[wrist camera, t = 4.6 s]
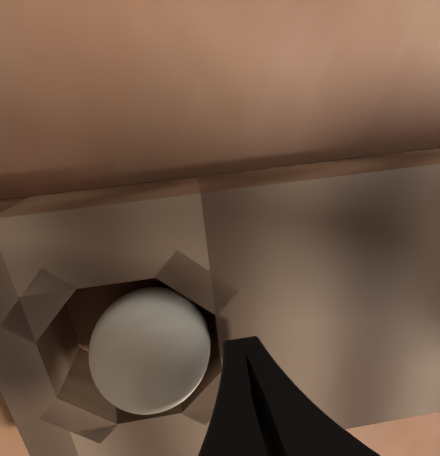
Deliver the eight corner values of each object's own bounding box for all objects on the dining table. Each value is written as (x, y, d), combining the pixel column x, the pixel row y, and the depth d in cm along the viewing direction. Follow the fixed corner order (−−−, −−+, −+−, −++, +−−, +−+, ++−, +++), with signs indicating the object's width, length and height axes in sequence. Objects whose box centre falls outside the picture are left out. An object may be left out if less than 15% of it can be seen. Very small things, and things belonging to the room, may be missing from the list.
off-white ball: (48, 407, 10) (67, 317, 14) (151, 466, 12) (140, 372, 17) (171, 303, 10) (152, 247, 15) (250, 379, 12) (212, 310, 17)
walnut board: (495, 141, 15) (569, 148, 12) (449, 359, 19) (495, 401, 16) (-20, 202, 13) (-76, 227, 10) (65, 425, 17) (43, 484, 15)
